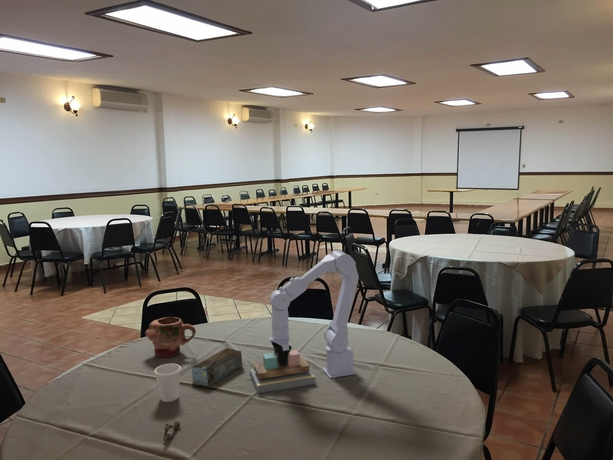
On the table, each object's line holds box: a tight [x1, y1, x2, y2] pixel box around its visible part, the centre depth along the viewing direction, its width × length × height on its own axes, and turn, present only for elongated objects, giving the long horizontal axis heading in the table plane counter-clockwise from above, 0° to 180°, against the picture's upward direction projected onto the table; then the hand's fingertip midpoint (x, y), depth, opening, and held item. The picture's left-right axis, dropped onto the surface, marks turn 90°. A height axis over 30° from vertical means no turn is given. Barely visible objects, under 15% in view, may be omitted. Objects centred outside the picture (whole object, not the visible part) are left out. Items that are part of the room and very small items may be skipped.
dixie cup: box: [153, 363, 182, 403], centre depth 160 cm, size 8×8×10 cm
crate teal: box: [262, 352, 277, 370], centre depth 169 cm, size 4×4×4 cm
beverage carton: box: [191, 347, 243, 387], centre depth 177 cm, size 8×19×7 cm, turn 148°
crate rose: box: [288, 349, 300, 367], centre depth 171 cm, size 4×4×4 cm
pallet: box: [253, 351, 311, 379], centre depth 170 cm, size 18×8×6 cm, turn 107°
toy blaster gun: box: [163, 421, 181, 442], centre depth 138 cm, size 2×8×4 cm, turn 169°
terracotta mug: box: [144, 316, 197, 359], centre depth 196 cm, size 20×12×14 cm, turn 95°
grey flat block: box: [249, 368, 316, 394], centre depth 171 cm, size 20×14×3 cm
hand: (281, 362), depth 170 cm, fingers closed on pallet, 4 cm apart
